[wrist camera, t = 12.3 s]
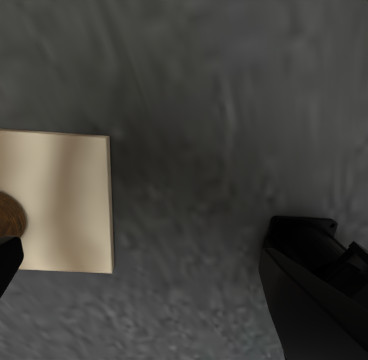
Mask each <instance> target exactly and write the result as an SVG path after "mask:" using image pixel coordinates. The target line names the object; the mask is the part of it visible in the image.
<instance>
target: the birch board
mask: <svg viewBox="0 0 368 360" xmlns="http://www.w3.org/2000/svg"><path fill="white" fill-rule="evenodd" d="M0 192H1V193H4V194H6V195H7V196H9V197H11V198H12V199H13V200H14V201H15V202H17V204H18V205H19V206H20V207H21V209H22V210H23V212H24V215H25V219H26V228H25V231H24V233H23V235H22V236H21V242H22V247H23V252H24V259H23V262H22V264H21V265H20V267H19V269H29V270H51V271H73V272H94V273H112V271H113V269H114V243H113V216H112V190H111V163H110V137H109V136H102V135H87V134H72V133H58V132H43V131H28V130H13V129H0Z"/></svg>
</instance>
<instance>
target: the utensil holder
mask: <svg viewBox="0 0 368 360" xmlns="http://www.w3.org/2000/svg"><path fill="white" fill-rule="evenodd" d="M25 228H26V219H25V215H24V212H23V210H22V209H21V207H20V206H19V205H18V204H17V202H15V201H14V200H13V199H12V198H11V197H9V196H7V195H6V194H4V193H1V192H0V238H1V237H4V236H18V237H20V238H21V236H22V235H23V233H24V231H25Z"/></svg>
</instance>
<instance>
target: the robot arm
mask: <svg viewBox="0 0 368 360" xmlns="http://www.w3.org/2000/svg"><path fill="white" fill-rule="evenodd" d="M277 220H279V221H278V222H277V223H275V222H276V221H277ZM330 224H332V225H331V226H330ZM336 228H337V222H335V221H334V220H332V219H319V218H301V217H284V216H275V217H273V218H272V220H271V224H270V228H269V232H268V235H267V236H266V238H265V242H264V247H263V250H262V253H261V258H260V262H259V274H260V278H261V282H262V286H263V289H264V293H265V297H266V301H267V305H268V308H269V312H270V315H271V318H272V320H273V323H274V326H275V328H276V331H277V334H278V336H279V339H280V342H281V344H282V349H283V352H284V356H285V360H368V250H366V249H365V248H363V247H362V246H360V245H359V244H357V243H356V242H354V241H353V242H352V243H351V244H350V245H349V248H348V249H346V248H345V247H344V246H343V245H342V244H341V243H339V242H338V241H337V240H336V239H335V238H334V234H335V231H336ZM23 259H24V252H23V247H22V242H21V238H20V237H18V236H4V237H1V238H0V298H1V296H2V295H3V293H4V292H5V290H6V288H7V287H8V285H9V283H10V282H11V280H12V278H13V277H14V275H15V273H16V272H17V270H18V269H19V267H20V265H21V264H22V262H23Z"/></svg>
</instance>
